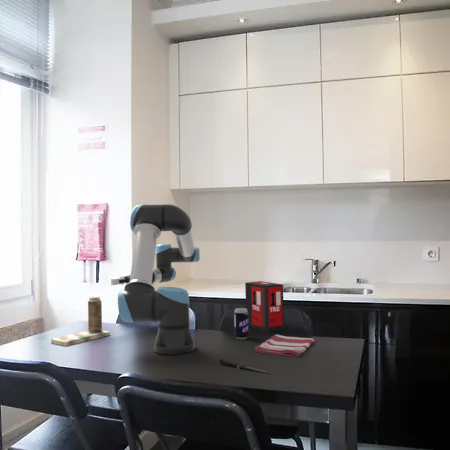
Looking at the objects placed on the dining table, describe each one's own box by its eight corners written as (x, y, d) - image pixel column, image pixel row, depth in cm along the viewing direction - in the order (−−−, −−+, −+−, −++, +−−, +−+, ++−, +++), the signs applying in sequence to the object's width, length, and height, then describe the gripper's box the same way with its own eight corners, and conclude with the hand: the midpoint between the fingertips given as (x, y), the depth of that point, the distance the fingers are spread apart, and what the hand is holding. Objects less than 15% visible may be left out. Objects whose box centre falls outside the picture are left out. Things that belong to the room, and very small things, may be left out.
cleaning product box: (283, 329, 204) (283, 284, 205) (268, 332, 200) (267, 286, 200) (261, 323, 218) (260, 281, 218) (246, 325, 213) (245, 282, 214)
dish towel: (253, 353, 167) (253, 346, 167) (275, 339, 188) (275, 332, 189) (298, 358, 160) (298, 351, 160) (315, 342, 181) (315, 336, 181)
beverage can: (238, 340, 185) (238, 310, 185) (232, 337, 190) (231, 308, 190) (251, 338, 188) (250, 309, 188) (244, 335, 193) (243, 307, 193)
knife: (290, 373, 141) (282, 376, 137) (290, 379, 141) (282, 382, 137) (225, 357, 156) (216, 359, 152) (225, 362, 156) (216, 365, 152)
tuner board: (95, 332, 205) (95, 328, 205) (110, 335, 199) (110, 331, 199) (51, 342, 187) (51, 338, 187) (65, 346, 181) (65, 341, 181)
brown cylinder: (96, 329, 202) (95, 296, 202) (106, 331, 198) (106, 297, 198) (87, 331, 198) (86, 297, 199) (98, 333, 194) (97, 298, 194)
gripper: (159, 285, 222) (122, 291, 203) (141, 283, 230) (103, 289, 211) (159, 269, 222) (121, 274, 203) (140, 268, 230) (102, 273, 211)
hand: (112, 282), depth 207 cm, fingers closed
